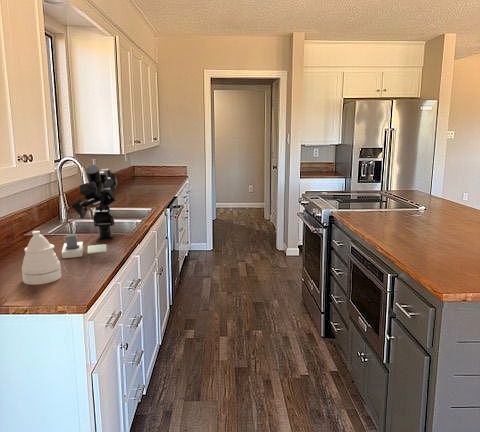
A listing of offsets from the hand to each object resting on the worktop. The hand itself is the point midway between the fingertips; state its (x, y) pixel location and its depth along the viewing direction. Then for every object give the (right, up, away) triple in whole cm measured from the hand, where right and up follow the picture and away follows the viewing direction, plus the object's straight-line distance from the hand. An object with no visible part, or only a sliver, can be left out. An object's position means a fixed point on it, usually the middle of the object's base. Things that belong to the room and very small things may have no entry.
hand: (90, 214), depth 189 cm
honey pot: (-8, -24, -29) cm, 38 cm away
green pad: (0, -16, +8) cm, 17 cm away
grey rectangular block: (-9, -17, +3) cm, 19 cm away
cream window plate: (-9, -17, +4) cm, 19 cm away
